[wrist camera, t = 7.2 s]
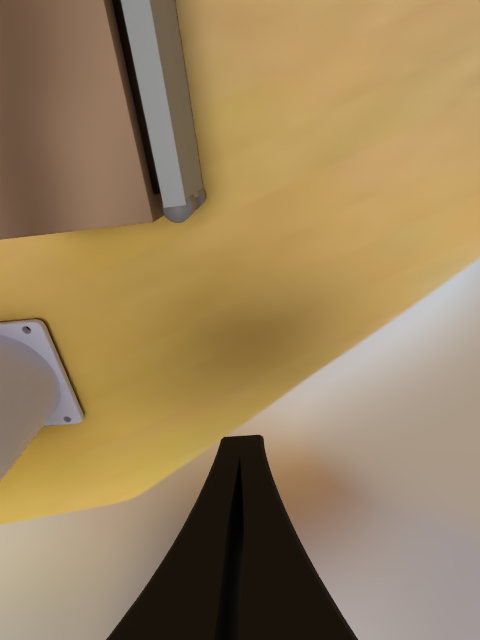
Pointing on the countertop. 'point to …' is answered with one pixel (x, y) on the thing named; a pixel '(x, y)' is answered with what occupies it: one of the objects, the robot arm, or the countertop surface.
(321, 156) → the countertop surface
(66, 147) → the walnut cabinet
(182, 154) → the cabinet door
